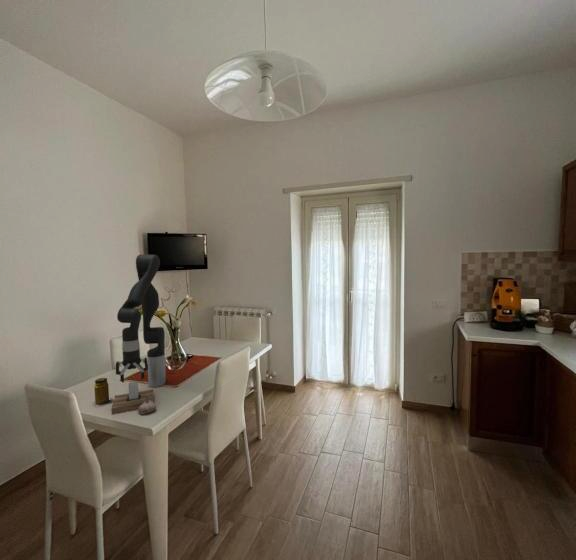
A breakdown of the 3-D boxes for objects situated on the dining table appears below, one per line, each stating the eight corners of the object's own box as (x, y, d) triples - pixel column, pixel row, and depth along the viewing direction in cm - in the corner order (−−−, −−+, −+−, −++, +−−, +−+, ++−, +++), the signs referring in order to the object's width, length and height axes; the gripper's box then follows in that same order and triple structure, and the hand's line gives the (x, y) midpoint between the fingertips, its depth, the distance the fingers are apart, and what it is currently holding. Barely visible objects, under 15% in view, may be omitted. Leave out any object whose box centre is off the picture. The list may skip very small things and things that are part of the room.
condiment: (93, 402, 157) (92, 379, 157) (112, 397, 163) (111, 375, 162) (95, 407, 152) (94, 383, 151) (115, 402, 157) (114, 379, 156)
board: (115, 401, 158) (115, 395, 158) (153, 394, 165) (153, 389, 165) (111, 414, 144) (111, 408, 144) (153, 406, 151) (153, 400, 151)
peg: (129, 402, 156) (128, 382, 155) (138, 400, 157) (138, 381, 157) (129, 405, 152) (128, 385, 151) (138, 403, 153) (137, 384, 153)
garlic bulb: (159, 409, 149) (158, 393, 148) (148, 416, 142) (148, 399, 141) (145, 407, 151) (145, 391, 150) (134, 414, 144) (134, 398, 143)
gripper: (147, 344, 159) (148, 375, 160) (115, 348, 153) (117, 380, 155) (146, 348, 152) (148, 380, 153) (113, 352, 147) (115, 385, 148)
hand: (132, 380), depth 154 cm, fingers open, 8 cm apart
